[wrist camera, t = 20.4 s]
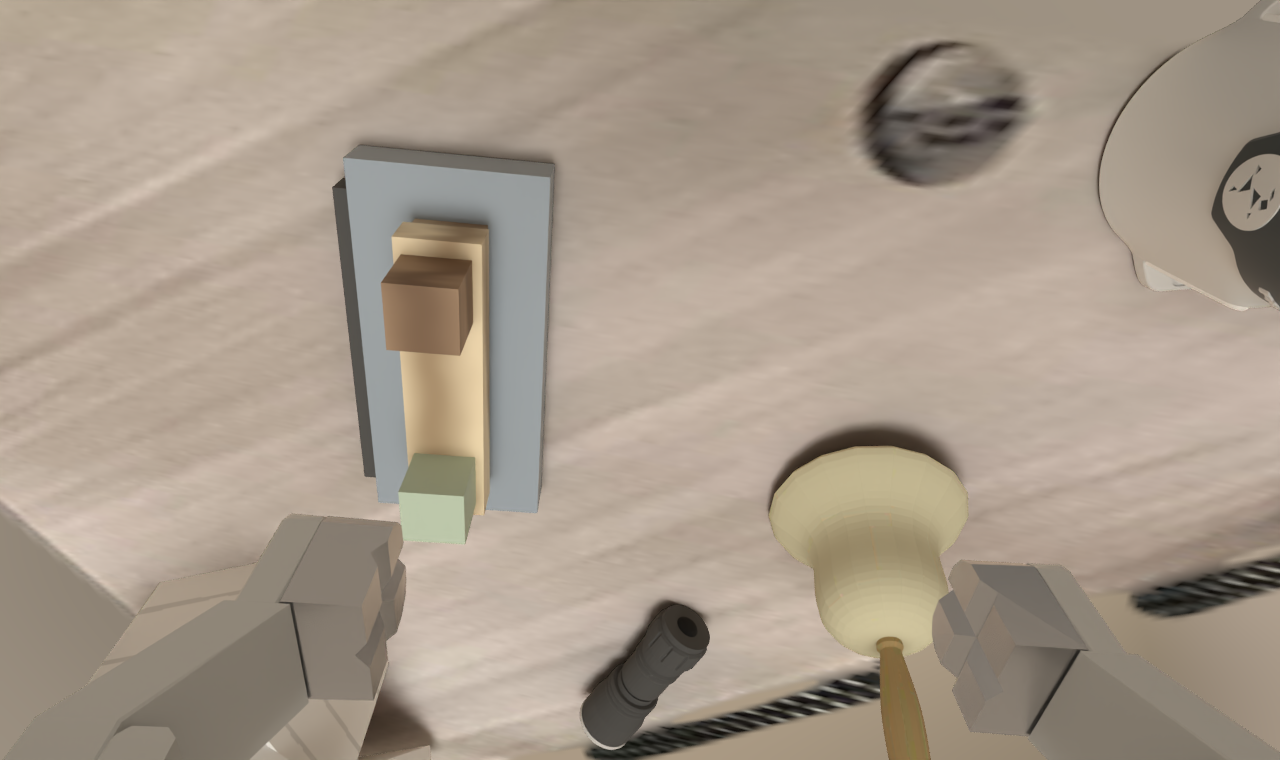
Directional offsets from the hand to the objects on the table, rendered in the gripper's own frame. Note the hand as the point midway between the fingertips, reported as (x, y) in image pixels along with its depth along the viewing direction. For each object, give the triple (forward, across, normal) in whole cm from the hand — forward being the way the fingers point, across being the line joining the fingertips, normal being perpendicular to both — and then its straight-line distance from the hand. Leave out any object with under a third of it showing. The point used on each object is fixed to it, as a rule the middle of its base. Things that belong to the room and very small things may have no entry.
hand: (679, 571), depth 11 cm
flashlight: (+40, -5, +50) cm, 64 cm away
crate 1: (+32, +11, +11) cm, 36 cm away
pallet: (+36, +11, +18) cm, 42 cm away
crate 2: (+32, +11, +25) cm, 42 cm away
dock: (+39, +11, +18) cm, 44 cm away
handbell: (+39, -21, +30) cm, 54 cm away
